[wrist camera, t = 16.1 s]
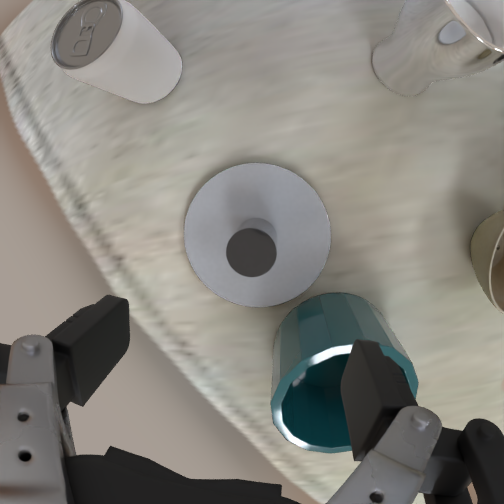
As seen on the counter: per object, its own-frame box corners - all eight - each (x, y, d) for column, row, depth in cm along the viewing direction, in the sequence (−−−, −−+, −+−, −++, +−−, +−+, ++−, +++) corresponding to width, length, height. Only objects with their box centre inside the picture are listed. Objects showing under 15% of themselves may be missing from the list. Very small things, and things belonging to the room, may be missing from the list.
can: (191, 45, 25) (142, -16, 13) (173, 108, 26) (109, 76, 15) (131, 42, 25) (65, -6, 13) (114, 101, 27) (34, 77, 15)
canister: (268, 298, 30) (263, 352, 21) (388, 285, 29) (426, 331, 20) (279, 394, 33) (277, 458, 24) (382, 381, 32) (405, 440, 22)
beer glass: (411, 116, 25) (511, 81, 10) (352, 65, 24) (412, -16, 10) (444, 70, 23) (540, 21, 8) (390, 22, 22) (456, -60, 8)
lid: (177, 174, 28) (151, 176, 22) (321, 156, 26) (333, 152, 20) (200, 307, 31) (182, 337, 25) (332, 295, 30) (344, 325, 24)
